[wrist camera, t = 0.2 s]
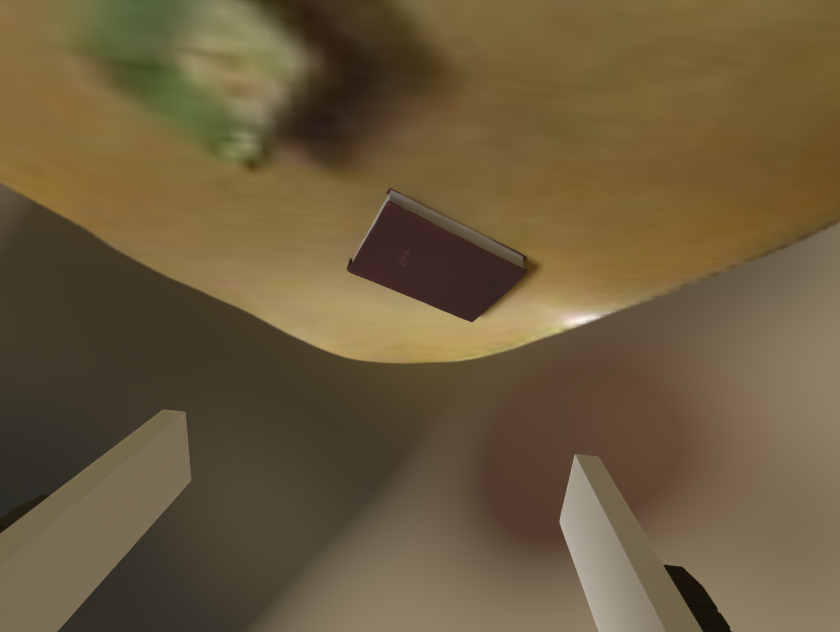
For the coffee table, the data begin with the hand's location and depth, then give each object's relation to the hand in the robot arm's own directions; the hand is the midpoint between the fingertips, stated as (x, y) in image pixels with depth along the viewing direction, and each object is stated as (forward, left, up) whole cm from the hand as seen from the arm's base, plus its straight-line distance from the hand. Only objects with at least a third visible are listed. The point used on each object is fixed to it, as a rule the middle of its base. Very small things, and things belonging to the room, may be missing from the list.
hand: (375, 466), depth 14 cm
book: (+20, -8, -36) cm, 41 cm away
